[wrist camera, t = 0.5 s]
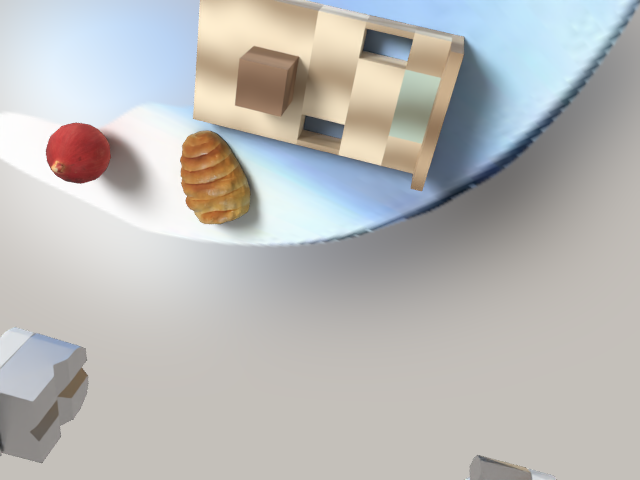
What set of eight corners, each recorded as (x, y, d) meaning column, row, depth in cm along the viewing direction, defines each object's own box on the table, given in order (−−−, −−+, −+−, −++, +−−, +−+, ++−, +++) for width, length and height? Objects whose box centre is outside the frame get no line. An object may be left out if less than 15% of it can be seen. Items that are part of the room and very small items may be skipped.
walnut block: (253, 45, 51) (239, 58, 48) (299, 56, 51) (287, 70, 48) (249, 90, 54) (234, 105, 50) (292, 101, 53) (280, 116, 50)
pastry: (172, 132, 61) (156, 147, 57) (233, 123, 59) (221, 137, 55) (201, 214, 65) (188, 232, 62) (259, 207, 63) (249, 225, 60)
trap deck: (211, -22, 52) (187, -10, 47) (463, 36, 50) (463, 54, 45) (202, 109, 58) (180, 130, 54) (425, 164, 57) (422, 191, 52)
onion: (126, 168, 64) (87, 204, 57) (75, 159, 64) (31, 193, 58) (122, 116, 60) (79, 148, 54) (68, 107, 61) (20, 137, 54)
